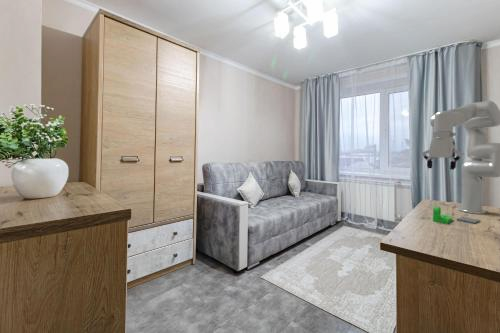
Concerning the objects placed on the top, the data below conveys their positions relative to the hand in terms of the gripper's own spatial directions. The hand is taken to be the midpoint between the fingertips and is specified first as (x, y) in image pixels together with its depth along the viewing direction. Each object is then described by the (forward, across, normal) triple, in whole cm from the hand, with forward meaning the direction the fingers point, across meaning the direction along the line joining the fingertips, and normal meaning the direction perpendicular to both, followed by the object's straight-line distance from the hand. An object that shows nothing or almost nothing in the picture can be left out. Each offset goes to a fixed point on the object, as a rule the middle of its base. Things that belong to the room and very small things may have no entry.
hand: (440, 168), depth 119 cm
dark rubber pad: (+28, -7, -17) cm, 34 cm away
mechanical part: (+29, 0, -6) cm, 30 cm away
